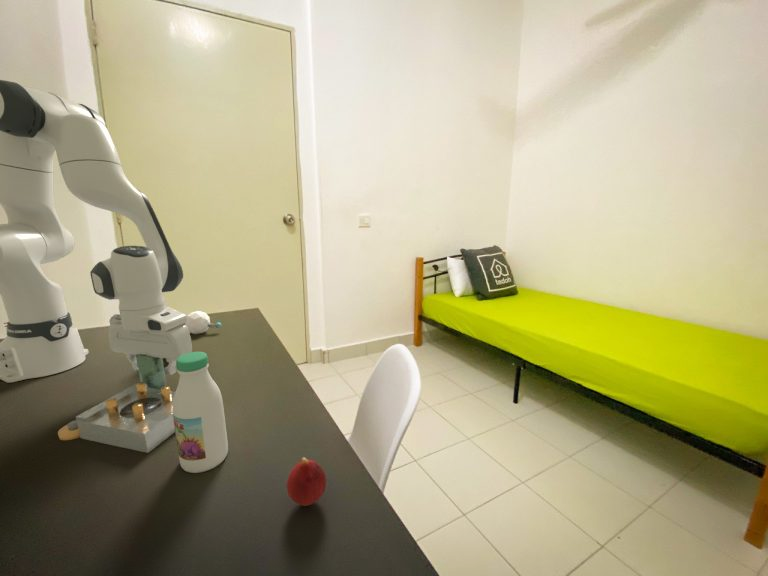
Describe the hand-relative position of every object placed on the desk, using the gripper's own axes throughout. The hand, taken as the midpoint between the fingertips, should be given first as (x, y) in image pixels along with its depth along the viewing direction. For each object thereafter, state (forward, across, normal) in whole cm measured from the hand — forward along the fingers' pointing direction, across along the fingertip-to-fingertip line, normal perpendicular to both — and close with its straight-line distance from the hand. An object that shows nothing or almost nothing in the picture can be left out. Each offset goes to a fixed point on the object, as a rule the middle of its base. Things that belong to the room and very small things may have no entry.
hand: (154, 371), depth 81 cm
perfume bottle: (+5, -16, +35) cm, 39 cm away
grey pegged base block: (+5, +8, -12) cm, 15 cm away
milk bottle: (+6, +27, -17) cm, 33 cm away
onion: (+6, +49, -21) cm, 54 cm away
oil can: (+5, 0, 0) cm, 5 cm away
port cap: (+5, -3, -17) cm, 18 cm away
